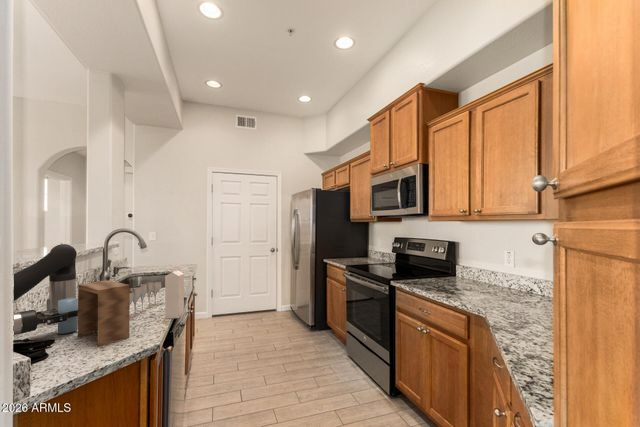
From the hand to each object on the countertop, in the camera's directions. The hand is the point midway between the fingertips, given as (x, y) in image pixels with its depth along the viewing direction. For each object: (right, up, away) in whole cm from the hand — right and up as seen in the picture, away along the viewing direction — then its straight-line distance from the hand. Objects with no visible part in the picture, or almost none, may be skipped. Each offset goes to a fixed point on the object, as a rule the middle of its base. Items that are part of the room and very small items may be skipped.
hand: (75, 311), depth 121 cm
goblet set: (+12, -8, +25) cm, 29 cm away
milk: (+31, -8, +17) cm, 37 cm away
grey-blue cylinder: (-1, -7, -2) cm, 7 cm away
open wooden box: (+16, -7, -7) cm, 19 cm away
